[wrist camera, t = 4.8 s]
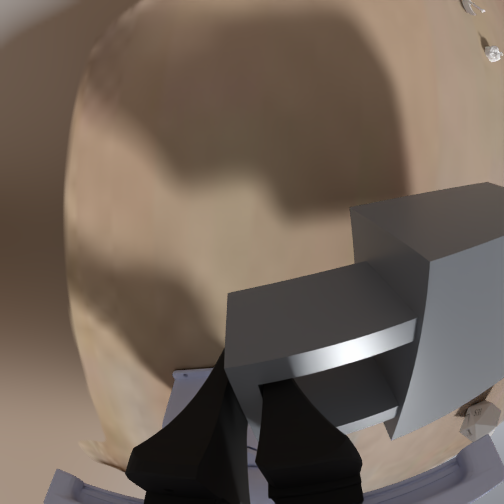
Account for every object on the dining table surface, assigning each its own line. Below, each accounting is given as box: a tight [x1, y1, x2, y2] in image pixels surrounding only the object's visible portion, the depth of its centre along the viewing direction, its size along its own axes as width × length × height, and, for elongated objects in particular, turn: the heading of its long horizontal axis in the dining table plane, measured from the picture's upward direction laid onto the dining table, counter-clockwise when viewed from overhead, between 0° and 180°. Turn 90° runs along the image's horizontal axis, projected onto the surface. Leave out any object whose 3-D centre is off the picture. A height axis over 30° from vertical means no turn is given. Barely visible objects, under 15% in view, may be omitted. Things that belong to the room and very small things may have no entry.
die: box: [459, 400, 501, 442], centre depth 29 cm, size 8×9×10 cm
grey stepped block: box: [224, 182, 504, 442], centre depth 11 cm, size 16×10×6 cm, turn 103°
